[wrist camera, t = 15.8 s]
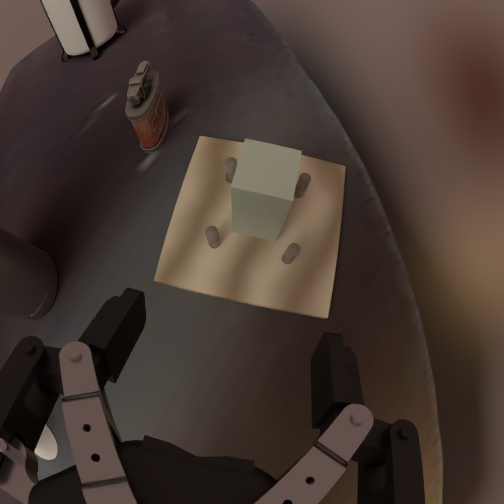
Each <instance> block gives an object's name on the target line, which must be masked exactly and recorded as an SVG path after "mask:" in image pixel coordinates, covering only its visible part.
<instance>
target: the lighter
mask: <svg viewBox="0 0 504 504" xmlns="http://www.w3.org/2000/svg"><path fill="white" fill-rule="evenodd" d="M150 70H151V67H150V64H149V62H147V61H144V62H141V64H140V65H139V67H138V70H137V72H136V74H135V76H134V77H133V78H130V80H129V90H128V93H127V96H128V99H127V102H126V109H125V113H126V116H127V118H128V119H129V120H131V123H132V125H133V127H134V129H135V131H136V133H137V136H138V138H139V140H140V145H141V148H142V150H143V151H144V152H146V153H154V152H156V151H158V150H159V149H160V147H161V145H162V143H163V141H164V138H165V136H166V132H167V129H168V123H169V111H168V107H167V106H166V105H165V102H164V98H163V94H162V91H161V87H160V77H159V74H158V72H157V71H150Z"/></svg>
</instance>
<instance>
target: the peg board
mask: <svg viewBox="0 0 504 504" xmlns="http://www.w3.org/2000/svg"><path fill="white" fill-rule="evenodd" d="M243 144H244V143H242V142H236V141H230V140H224V139H218V138H211V137H204V136H200V138H199V140H198V143H197V146H196V148H195V151H194V154H193V156H192V159H191V162H190V165H189V167H188V170H187V173H186V176H185V179H184V182H183V185H182V188H181V191H180V194H179V197H178V200H177V203H176V206H175V209H174V212H173V215H172V218H171V222H170V225H169V228H168V232H167V235H166V238H165V242H164V245H163V249H162V252H161V256H160V260H159V263H158V267H157V271H156V274H155V278H154V281H155V282H157V283H160V284H164V285H168V286H172V287H176V288H180V289H185V290H189V291H193V292H197V293H201V294H206V295H210V296H214V297H219V298H223V299H228V300H232V301H237V302H241V303H246V304H251V305H256V306H261V307H265V308H270V309H275V310H281V311H286V312H291V313H296V314H302V315H307V316H313V317H318V318H328V314H329V309H330V302H331V296H332V290H333V283H334V276H335V269H336V261H337V254H338V245H339V237H340V227H341V218H342V207H343V195H344V181H345V166H342V165H339V164H335V163H331V162H327V161H324V160H320V159H316V158H312V157H308V156H304V155H301V159H300V165H299V170H298V176H297V182H296V187H295V193H294V198H293V202H292V205H291V207H290V209H289V212H288V214H287V216H286V219H285V221H284V223H283V226H282V228H281V230H280V232H279V235H278V237H277V239H276V242H275V241H270V240H266V239H261V238H257V237H253V236H248V235H244V234H239V233H235V232H233V226H232V204H231V185H232V181H233V178H234V174H235V171H236V167H237V164H238V161H239V157H240V154H241V151H242V147H243Z"/></svg>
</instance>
